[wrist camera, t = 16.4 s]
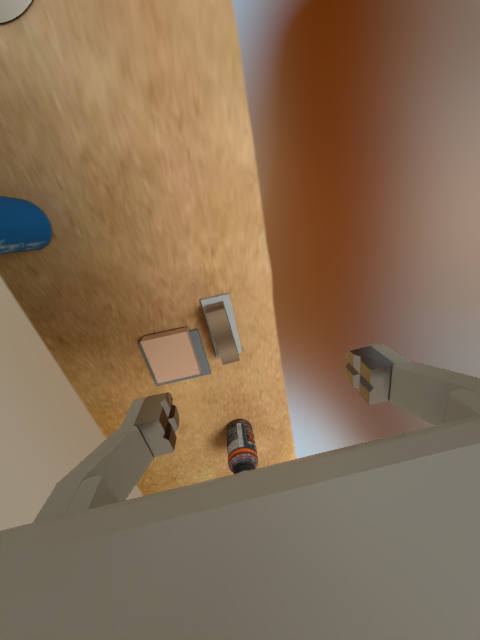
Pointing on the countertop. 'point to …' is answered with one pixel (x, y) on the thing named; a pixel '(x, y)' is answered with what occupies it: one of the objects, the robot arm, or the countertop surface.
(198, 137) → the countertop surface
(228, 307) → the pad
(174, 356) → the tile
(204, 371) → the mat
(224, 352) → the tall taupe beveled block
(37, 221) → the beverage can
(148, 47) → the countertop surface
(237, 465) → the supplement bottle
